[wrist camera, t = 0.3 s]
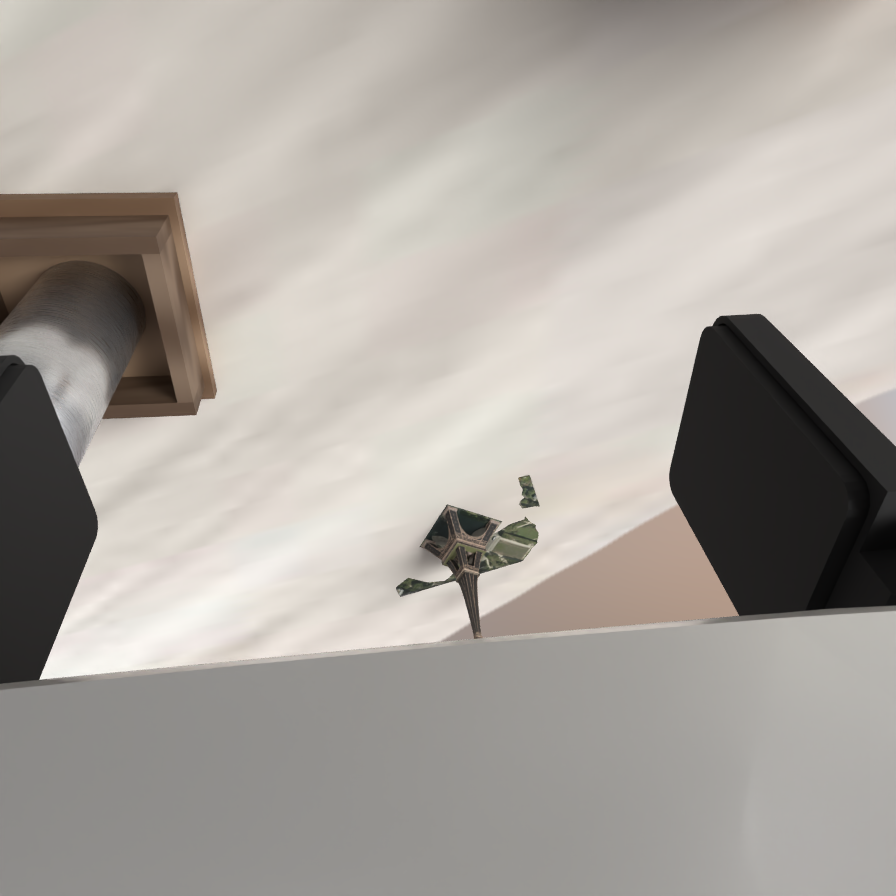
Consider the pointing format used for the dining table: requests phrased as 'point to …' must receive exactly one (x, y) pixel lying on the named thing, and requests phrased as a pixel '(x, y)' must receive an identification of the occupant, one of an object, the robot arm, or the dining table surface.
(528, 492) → the eiffel tower figurine
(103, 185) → the dining table surface
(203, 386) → the wooden compartment tray
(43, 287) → the grey metal canister
